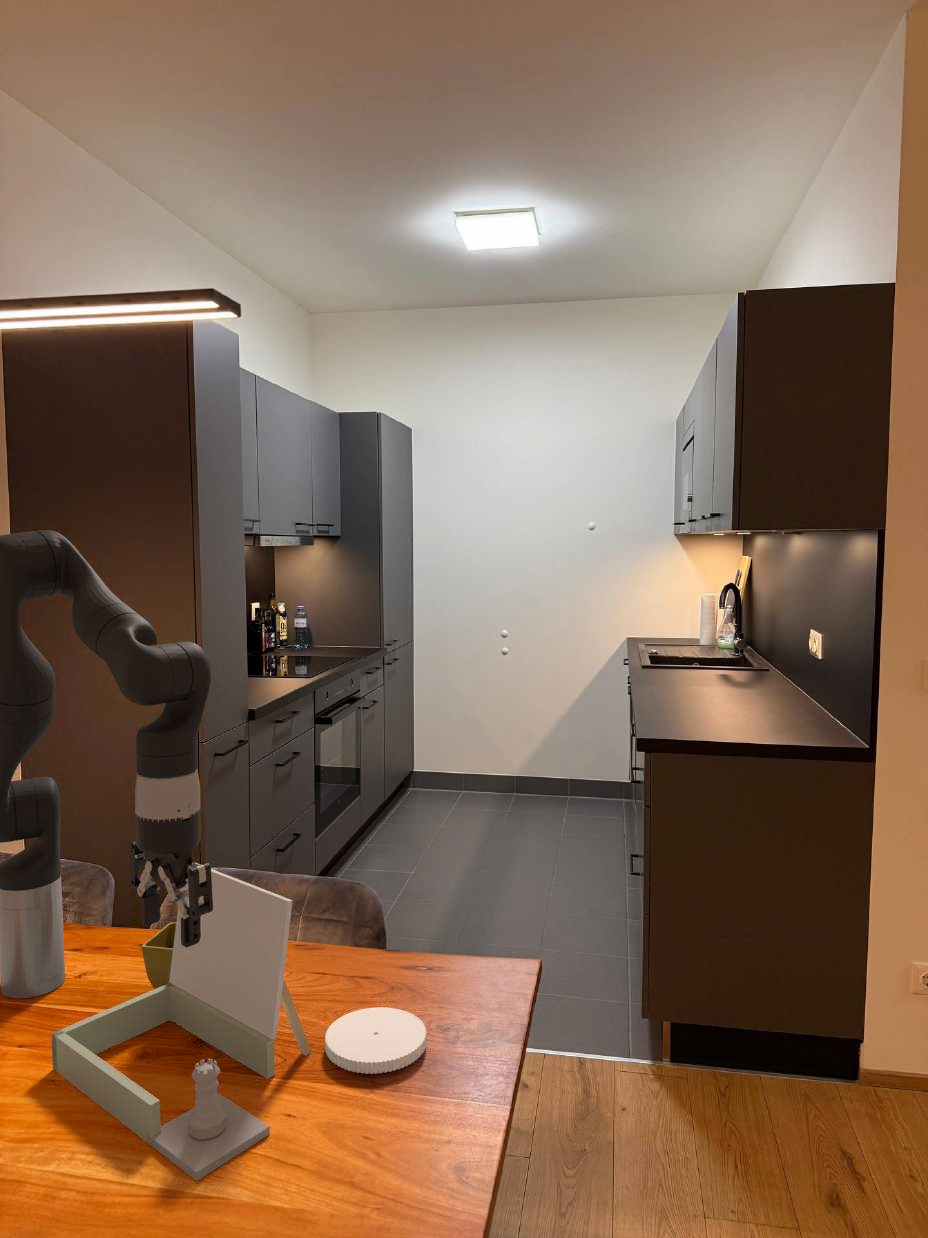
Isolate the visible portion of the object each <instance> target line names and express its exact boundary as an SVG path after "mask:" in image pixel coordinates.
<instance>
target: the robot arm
mask: <svg viewBox="0 0 928 1238" xmlns="http://www.w3.org/2000/svg"><path fill="white" fill-rule="evenodd" d="M57 595H64V596H66V597H69V598H71V599H72V608H71V623H72V627H73V629H74V632H75V634H76V635H77V637H78V638H79V640H80V641H81V642H82V643H83V644H84V645H85V646H86V647H87V648H88V649H89V650H91V651H92V653H94V654H95V655H97V656H98V658H100V659H101V660H102V661H103V662H105V664H106V665H107V668H108V670H109V671H110V673H111V676H113V678H114V681H115V682H116V685H117V687H118V690H119V691H120V694H121V695H122V696H123V697H124V698H126V699H127V701H130V702H131V703H133V704H136V705H139V706H142V707H151V706H157V705H162V704H165V706H164V708H163V711H162V712H161V714H160V715H159V716H158V717H156V718H154V719H152V720H151V721H149V722H146V723H144V724H143V725H142V726H140V727H139V729H138V730H137V732H136V735H135V736H136V738H135V752H136V753H135V754H136V779H135V788H134V809H135V813H134V815H135V841H133V842H130V843H129V867H128V870H129V877H128V878H129V879H128V880H129V881H128V883H129V886H130V887H131V888H136V889H137V895H138V897H140V908H141V909H140V913H141V923H142V924H143V925H145V926H146V927H147V926H148V927H149V926H152V925H153V924H156V923H158V922H159V921H160V920H161V894H160V892H158V891H160V889H161V888H163V889H164V890H165V891H166V892H167V893H168V895H169V898H170V901H171V902H173V903H176V905H177V909H178V908H179V911H180V913H181V916H182V917H181V945H182V946H184V947H186V948H187V947H190V946H192V945H195V944H197V943H198V942H199V941H200V937H201V929H200V928H201V924H200V917H201V915H204V914H206V913H209V912H212V911H213V898H212V878H211V869H212V867H211V865H210V863H208V862H206V863H203V864H200V865H198V864H199V863H197V864H195V863H196V861H195V858H194V854H193V853H194V851H193V850H194V849H195V848H196V846H197V845H198V844H199V843H200V841H201V837H202V827H201V825H202V824H201V823H202V822H201V817H202V816H201V784H200V778H199V773H198V772H199V770H198V767H199V765H198V764H199V763H198V762H199V761H198V757H199V756H198V735H199V730H200V728H201V724H202V720H203V716H204V712H205V711H204V710H205V708H206V704H207V701H208V697H209V693H210V688H211V682H212V681H211V680H212V671H211V670H212V668H211V665H210V664H211V663H210V660H209V658H208V656H207V654H206V652H205V651H204V649H203V648H202V647H201V646H200V645H198V644H197V643H195V642H192V641H178V642H170V643H163V644H161V643H160V644H158V635H157V631H156V630H155V628H154V626H152V624H151V623H150V622H149V621H147V620H146V619H145V618H144V617H143V616H142V615H140V614H139V613H138V612H136V611H135V610H134V609H132V607H130V606H129V605H127V604H126V603H125V602H123V601H122V600H121V599H120V598H119V597H118V596H117V595H115V593H113V592H112V591H111V589H110V588H109V587H108V586H107V585H106V584H105V582H104V581H103V580H102V579H101V577H100V576H99V575H98V574H97V572H96V571H95V569H94V568H93V567H92V566H91V565H90V563H89V562H88V560H86V559H85V558H84V557H83V554H81V553H80V551H79V550H78V549H77V548H76V546H75V545H73V543H72V542H71V541H70V540H68V538H66V536H64V535H63V534H61V533H60V532H58V531H54V530H49V529H46V530H45V529H44V530H43V529H41V530H34V531H24V532H16V533H15V532H14V533H8V534H0V844H1V843H11V842H16V841H17V842H18V841H22V840H23V841H24V840H28V839H33V841H32V842H31V843H30V844H29V845H28V846H26V847H25V848H24V849H23V850H21V851H20V852H18V853H16V854H14V855H12V856H10V857H8V858H6V859H4V860H3V861H2V862H0V992H1V994H2V995H3V996H4V997H7V998H10V999H11V998H12V999H28V998H33V997H34V998H35V997H38V996H43V995H45V994H48V993H50V992H52V991H55V990H56V989H58V988H59V987H60V986H62V985H63V983H65V980H66V972H65V971H66V968H65V967H66V965H65V941H64V939H65V937H64V936H65V935H64V920H63V919H64V918H63V917H64V915H63V912H64V911H63V894H62V872H61V871H62V870H61V797H60V795H61V794H60V790H59V787H58V783H57V782H56V780H55V779H54V778H52V777H50V776H39V777H32V778H26V779H25V778H23V779H16V780H12V779H13V777H14V774H15V773H16V770H17V769H18V767H19V765H20V763H21V762H22V761H23V760H24V758H25V757H26V756H27V754H28V753H29V752H31V750H32V749H33V747H34V746H35V745H36V744H37V743H38V742H39V741H40V740H41V738H42V736H44V734H45V733H46V731H47V730H48V728H49V727H50V725H51V723H52V721H53V719H54V716H55V709H56V707H55V706H56V689H57V688H56V685H57V681H56V679H57V678H56V674H55V672H54V669H53V668H52V665H50V663H49V662H48V660H47V659H46V657H45V656H44V655H43V654H42V652H40V651H39V649H38V648H37V647H36V645H34V644H33V642H32V641H31V639H30V638H29V637H28V636H27V634H26V633H25V631H24V630H23V627H22V623H21V605H22V603H23V602H27V601H33V600H39V599H44V598H50V597H54V596H57ZM140 869H143V871H142V873H141V874H140V875H139V870H140ZM187 883H188V889H187V890H184V891H180V890H181V888H183V887H185V886H186V884H187ZM201 896H203V901H204V903H202V901H201V898H200V897H201ZM187 897H189V907H188V906H187V904H186V901H185V898H187Z"/></svg>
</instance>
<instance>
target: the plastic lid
mask: <svg viewBox="0 0 928 1238" xmlns="http://www.w3.org/2000/svg"><path fill="white" fill-rule="evenodd" d="M427 1038H428V1037H427V1028H426V1024H424V1022H423V1021H422V1019H420V1017H418V1016H416V1015H415V1014H413V1013H412V1012H409V1011H406V1010H402V1009H398V1008H395V1007H385V1006H384V1007H381V1006H380V1007H378V1006H377V1007H367V1008H362V1009H357V1010H354V1011H351V1012H350V1013H349V1012H348V1013H346V1014H344V1015H343V1016H340V1017H339V1018H336V1020H334V1021H333V1022H332V1023H331V1024H330V1025H329V1026H328V1028H327V1029H326V1032H325V1036H324V1039H325V1040H324V1045H325V1047H324V1049H325V1054H326V1056H327V1057H328V1059H329V1061H331V1062H332V1063H333V1064H334V1065H337V1067H339V1068H340V1069H344V1071H346V1070H347V1071H348V1072H353V1073H355V1072H356V1073H357V1074H358V1073H361V1074H370V1075H373V1074H375V1075H376V1074H382V1073H387V1072H392V1071H394V1072H395V1071H396V1070H401V1069H403V1068H405V1067H408V1066H409V1065H412V1063H415V1061H417V1060H418V1059H419V1058H420V1057H421V1056H422V1055H423V1053H424V1052H425V1051H426V1048H427Z"/></svg>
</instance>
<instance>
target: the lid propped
mask: <svg viewBox="0 0 928 1238" xmlns="http://www.w3.org/2000/svg"><path fill="white" fill-rule="evenodd" d="M195 864H198V865H201V864H200V863H198V862H195ZM211 878H212V898H213V911H212V912H209V913H206V914H204V915H201V917H200V924H201V928H200V929H201V937H200V941H199V942H198V943H197V944H195V945H192V946H190V947H187V948H186V947H184V946H182V945H181V917H182V916H181V913H180V911H179V908H178V907H177V917H176V921H175V922H176V930H175V938H174V946H173V954H172V962H171V971H170V979H169V983H171V984H173V985H174V986H176V987H178V988H180V989H182V990H183V991H185V992H187V993H189V994H191V995H192V996H194V997H196V998H198V999H200V1000H201V1001H203V1002H205V1003H207V1004H209V1005H210V1006H212V1007H214V1008H216V1009H218V1010H220V1011H221V1012H223V1013H225V1014H227V1015H229V1016H230V1017H232V1018H234V1019H236V1020H238V1021H239V1022H241V1023H243V1024H245V1025H247V1026H248V1027H250V1028H252V1029H254V1030H256V1031H258V1032H259V1033H261V1034H263V1035H265V1036H267V1037H268V1038H270V1039H274V1040H275V1039H277V1038H278V1037H277V1036H278V1029H279V1020H280V1013H281V1012H280V1011H281V1004H282V1002H281V996H282V987H283V979H284V978H285V977H284V975H285V971H286V969H285V968H286V960H287V959H286V958H287V954H288V944H289V943H288V942H289V934H290V929H291V928H290V926H291V919H292V918H291V916H292V911H293V910H292V909H293V899H290V898H287V897H285V896H282V895H280V894H277V893H275V892H272V891H269V890H268V889H267V890H266V889H264V888H262V887H259V886H256V885H254V884H252V883H249V882H247V881H243V880H242V879H239V878H236V877H233V876H230V875H228V874H226V873H223V872H220V871H218V870H215V869H213V868H211ZM187 889H188V883H187V884H186V886H185V887H183V888H181V889H179V891H184V890H187ZM200 898H201V901H202V903H204V901H203V896H201V897H200ZM185 901H186V904H187V906H188V907H189V897H187V898H185ZM284 980H285V979H284Z"/></svg>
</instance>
